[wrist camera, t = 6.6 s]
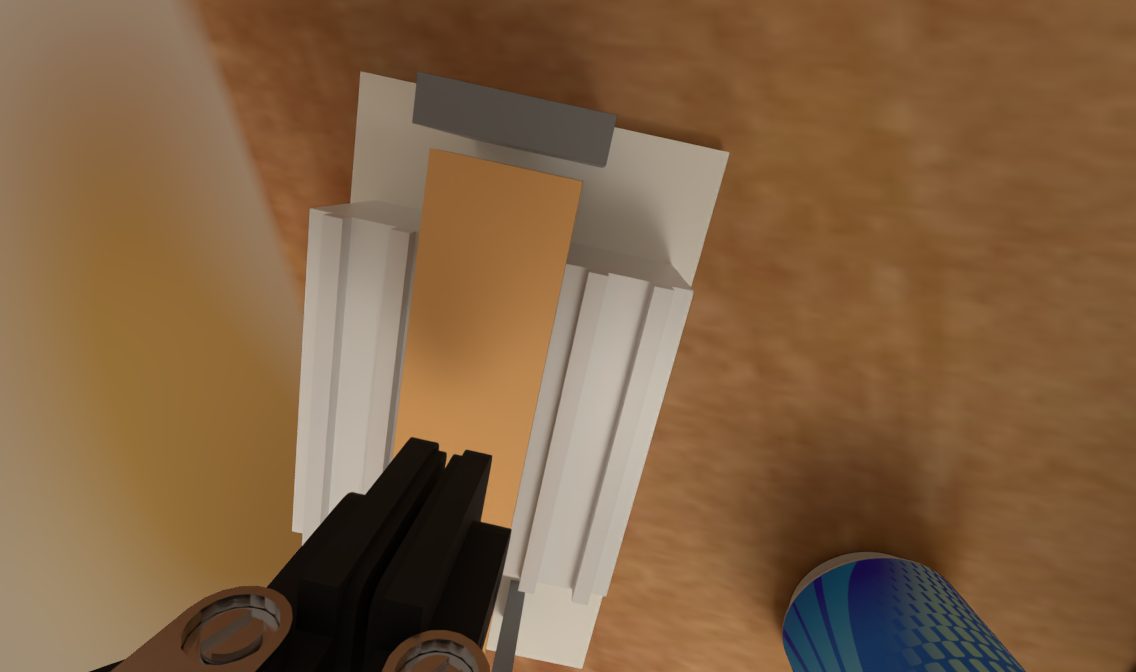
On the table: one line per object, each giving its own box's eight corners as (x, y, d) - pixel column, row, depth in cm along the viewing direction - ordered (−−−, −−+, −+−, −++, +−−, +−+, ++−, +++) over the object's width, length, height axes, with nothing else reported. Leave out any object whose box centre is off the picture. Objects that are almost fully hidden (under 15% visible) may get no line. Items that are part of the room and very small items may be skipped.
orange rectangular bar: (470, 721, 21) (459, 770, 19) (373, 701, 21) (354, 748, 19) (583, 181, 15) (582, 181, 13) (445, 150, 15) (424, 147, 13)
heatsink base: (582, 652, 28) (575, 877, 19) (327, 599, 28) (199, 802, 19) (723, 153, 20) (824, 137, 11) (371, 76, 20) (190, -3, 11)
